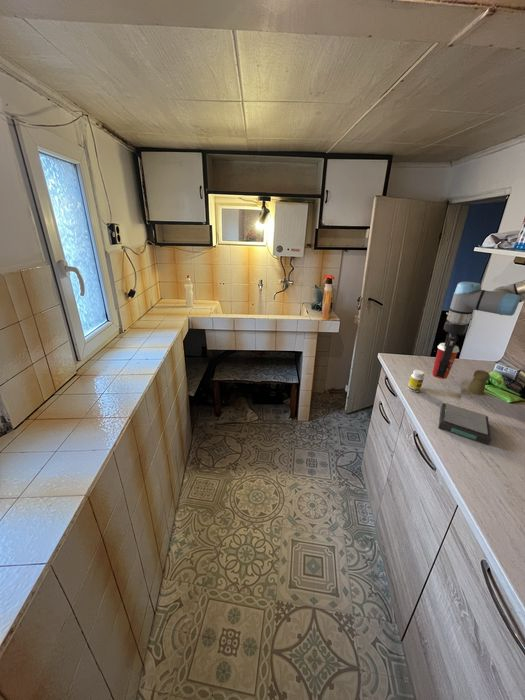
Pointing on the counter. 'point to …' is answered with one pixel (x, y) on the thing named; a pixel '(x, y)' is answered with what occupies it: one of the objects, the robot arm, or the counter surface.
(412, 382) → the supplement bottle
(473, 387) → the cork
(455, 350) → the paper cup
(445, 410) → the kitchen scale
